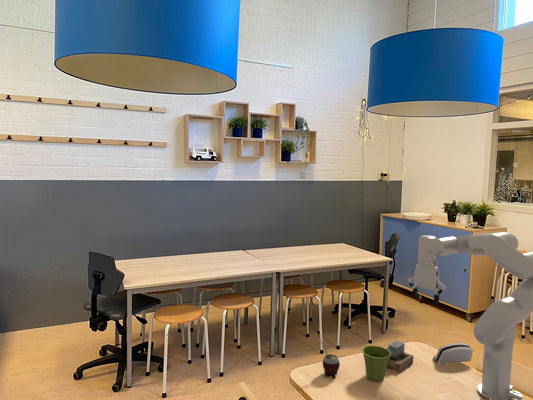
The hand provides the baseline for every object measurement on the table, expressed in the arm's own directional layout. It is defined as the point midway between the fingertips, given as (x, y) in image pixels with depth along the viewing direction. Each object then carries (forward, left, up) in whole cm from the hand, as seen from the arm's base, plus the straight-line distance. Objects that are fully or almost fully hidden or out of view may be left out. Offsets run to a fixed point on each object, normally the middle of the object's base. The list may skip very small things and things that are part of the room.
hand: (425, 300), depth 181 cm
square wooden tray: (+8, +12, -28) cm, 32 cm away
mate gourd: (+21, +42, -28) cm, 55 cm away
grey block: (+7, +12, -27) cm, 30 cm away
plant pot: (+7, +29, -28) cm, 41 cm away
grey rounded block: (-10, -10, -29) cm, 32 cm away
